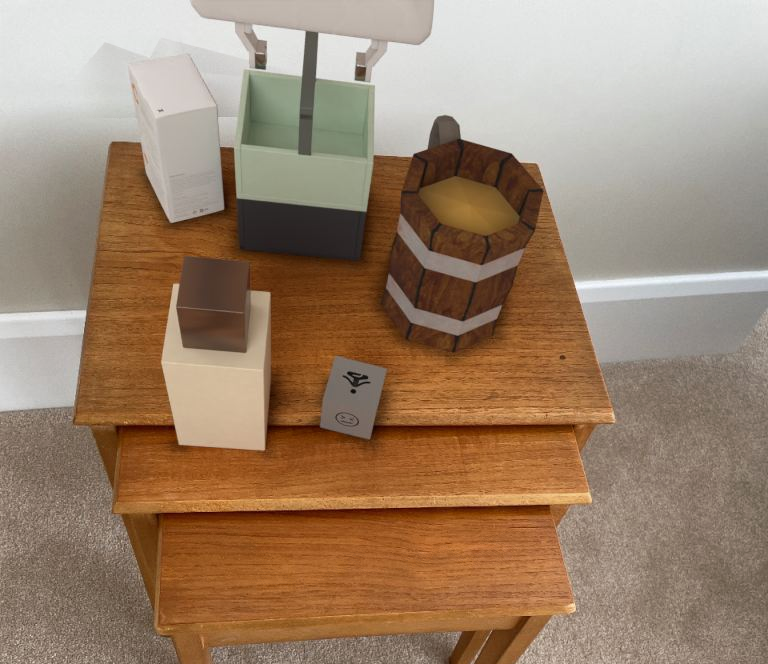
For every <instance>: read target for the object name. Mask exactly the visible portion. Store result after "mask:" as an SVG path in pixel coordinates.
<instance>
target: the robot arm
mask: <svg viewBox="0 0 768 664" xmlns="http://www.w3.org/2000/svg"><path fill="white" fill-rule="evenodd" d="M190 5H191V7H192V8H193V9H194V11H195V12H196V13H197V15H199V16H200V18H203V19H207V20H214V21H215V20H216V21H223V22H232V23H234V29H235V30H234V31H235V34H236V35H237V37H238V38H239V40H240V42H241V44H242V45H243V46H244V49H245V50H246V52H248V57H249V58H248V61H249V63H248V64H249V69H255V70H260V71H266V70H267V64H268V52H267V51H268V41H267V40H265V39H258V37H257V35H256V33H255V30H254V29H253V25H254V26H255V25H256V26H263V27H270V28H278V29H287V30H294V31H303V32H306V31H309V32H317V33H318V34H324V35H325V34H326V35H333V36H334V35H335V36H341V37H349V38H358V39H366V40H370V42H371V43H370V45H369V47H368V48H367V49H366V51H365V52H361V51H360V52H359V51H356V53H355V63H354V76H353V77H354V81H355V82H362V83H371V80H372V79H371V78H372V73H373V72H372V71H373V68H374V67H375V66H376V64H377V63H378V62H379V61H380V60H381V58H382V57H383V56H384V55H385V54H386V53H387V51H388V44H389V43H398V44H406V45H413V46H420V45H422V44H423V43H424V42H426V40H427V39H428V38H429V37H430V36H431V34H432V29H433V24H434V23H433V22H434V13H435V12H434V10H435V0H190Z"/></svg>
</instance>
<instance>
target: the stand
mask: <svg viewBox="0 0 768 664" xmlns="http://www.w3.org/2000/svg"><path fill="white" fill-rule="evenodd" d="M179 284H180V283H176V282H175V283H173V285H172V289H171V290H172V291H171V297H170V304H169V310H168V315H167V321H166V322H167V323H166V328H165V335H164V342H163V346H162V347H163V348H162V355H161V359H160V360H161V367H162V372H163V376H164V381H165V386H166V391H167V395H168V400H169V405H170V410H171V414H172V419H173V423H174V428H175V434H176V439H177V443H178V445H179V446H192V447H203V448H204V447H206V448H219V449H220V448H221V449H233V450H235V449H237V450H249V451H252V450H253V451H264V452H265V451H266V445H267V433H268V419H269V408H270V407H269V406H270V398H271V397H270V395H271V386H272V385H271V383H272V336H271V335H272V323H271V322H272V319H271V318H272V317H271V316H272V313H271V312H272V310H271V309H272V305H271V304H272V303H271V302H272V301H271V295H272V294H271V292H270V291H261V290H251V310H250V320H249V330H248V340H247V350H246V353H239V352H227V351H215V350H203V349H191V348H183V345H182V340H181V334H180V328H179V322H178V316H177V310H176V303H177V297H178V290H179Z"/></svg>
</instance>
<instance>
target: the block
mask: <svg viewBox="0 0 768 664" xmlns="http://www.w3.org/2000/svg"><path fill="white" fill-rule="evenodd" d="M178 284H179V290H178V297H177V303H176V310H177V316H178V322H179V328H180V334H181V340H182V345H183V348H191V349H203V350H215V351H227V352H239V353H246V350H247V340H248V330H249V320H250V310H251V291H252V290H251V289H252V288H251V263H250V262H249V261H244V260H235V259H234V260H233V259H222V258H213V257H203V256H201V257H200V256H191V255H184V256H183V259H182V265H181V270H180V277H179V283H178Z"/></svg>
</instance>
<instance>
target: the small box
mask: <svg viewBox="0 0 768 664" xmlns="http://www.w3.org/2000/svg"><path fill="white" fill-rule="evenodd" d="M127 68H128V74H129V81H130V86H131V92H132V98H133V104H134V111H135V115H136V123H137V128H138V134H139V139H140V145H141V150H142V156H143V157H142V158H143V163H144V169H145V170H144V171H145V174H146V177H147V179H148V181H149V182H150V184H151V187H152V189H153V191H154V193H155V195H156V197H157V199H158V201H159V203H160V206H161V207H162V210H163V211H164V214H165V215H166V217H167V220H168V221H169V223H171V224H172V223H177V222H181V221H184V220H185V221H186V220H190V219H195V218H197V217H202V216H206V215H211V214H213V213H218V212H221V211H225V194H224V182H223V170H222V169H223V168H222V154H221V153H222V152H221V141H220V128H219V127H220V126H219V110H218V104H217V102H216V100H215V98H214V97H213V95H212V93H211V91H210V89H209V88H208V86H207V84H206V83H205V81H204V78H203V77H202V74H201V73H200V71H199V70H198V68H197V66H196V64H195V62H194V61H193V58H192V57H191V55H190V53H184V54H177V55H172V56H165V57H160V58H155V59H148V60H143V61H136V62H131V63H128V64H127Z"/></svg>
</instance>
